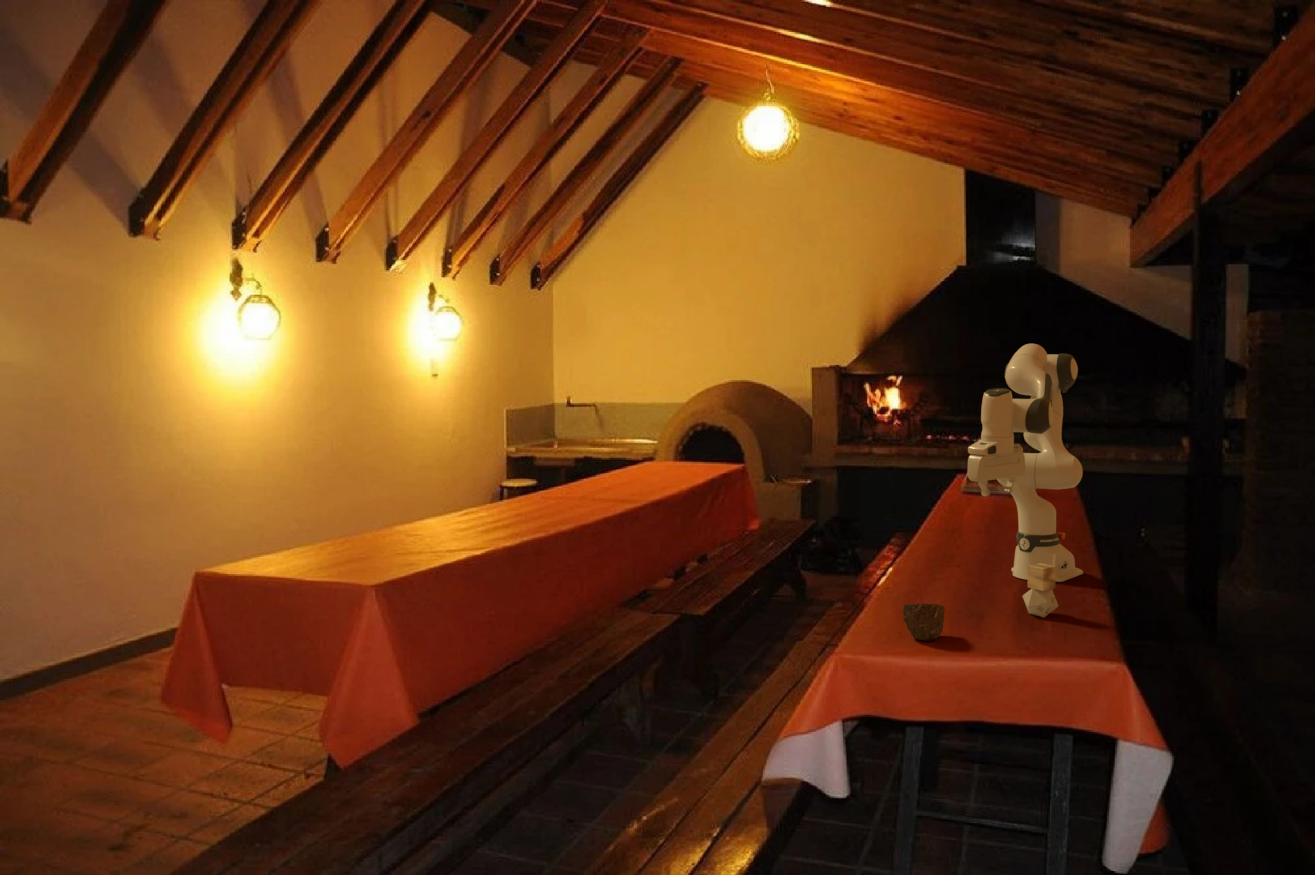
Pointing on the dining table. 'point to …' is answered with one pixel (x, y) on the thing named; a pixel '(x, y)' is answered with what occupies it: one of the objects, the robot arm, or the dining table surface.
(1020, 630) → the dining table surface
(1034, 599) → the die
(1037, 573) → the beech block
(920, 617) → the rock
